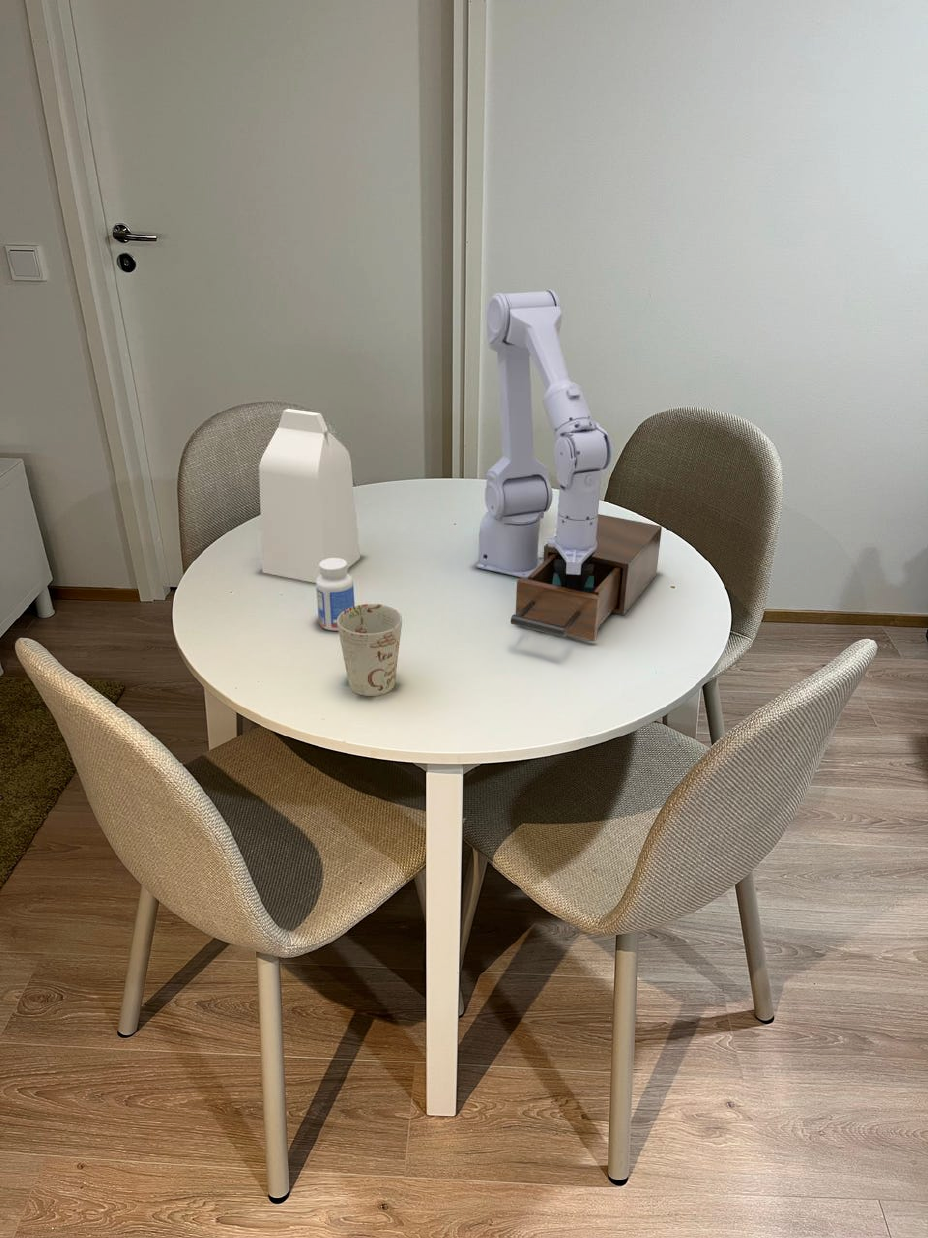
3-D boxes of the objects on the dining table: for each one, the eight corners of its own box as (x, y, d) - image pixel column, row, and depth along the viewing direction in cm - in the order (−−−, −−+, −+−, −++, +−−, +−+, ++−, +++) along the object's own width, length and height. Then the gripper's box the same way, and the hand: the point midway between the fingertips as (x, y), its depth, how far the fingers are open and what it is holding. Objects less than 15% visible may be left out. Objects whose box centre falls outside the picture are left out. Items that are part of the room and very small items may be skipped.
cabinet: (623, 615, 149) (628, 564, 145) (541, 596, 154) (543, 546, 150) (656, 574, 162) (662, 526, 158) (579, 557, 167) (583, 510, 163)
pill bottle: (361, 618, 147) (359, 558, 143) (346, 634, 143) (343, 573, 138) (328, 612, 149) (324, 553, 144) (312, 628, 144) (308, 567, 140)
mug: (354, 707, 126) (351, 639, 121) (320, 662, 135) (316, 598, 131) (413, 692, 129) (412, 625, 124) (376, 649, 139) (374, 586, 134)
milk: (262, 572, 161) (248, 417, 149) (298, 546, 170) (287, 398, 158) (327, 585, 157) (317, 426, 145) (360, 557, 166) (354, 407, 154)
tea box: (550, 611, 146) (552, 584, 144) (552, 599, 149) (553, 573, 147) (591, 614, 145) (593, 587, 143) (591, 602, 148) (593, 575, 146)
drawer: (576, 662, 135) (580, 618, 131) (495, 641, 140) (496, 598, 136) (629, 598, 152) (633, 558, 149) (555, 581, 157) (557, 542, 154)
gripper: (552, 493, 147) (548, 575, 153) (546, 530, 134) (541, 618, 140) (600, 496, 146) (593, 578, 152) (598, 534, 133) (591, 622, 140)
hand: (571, 598), depth 146 cm, fingers closed on tea box, 4 cm apart
